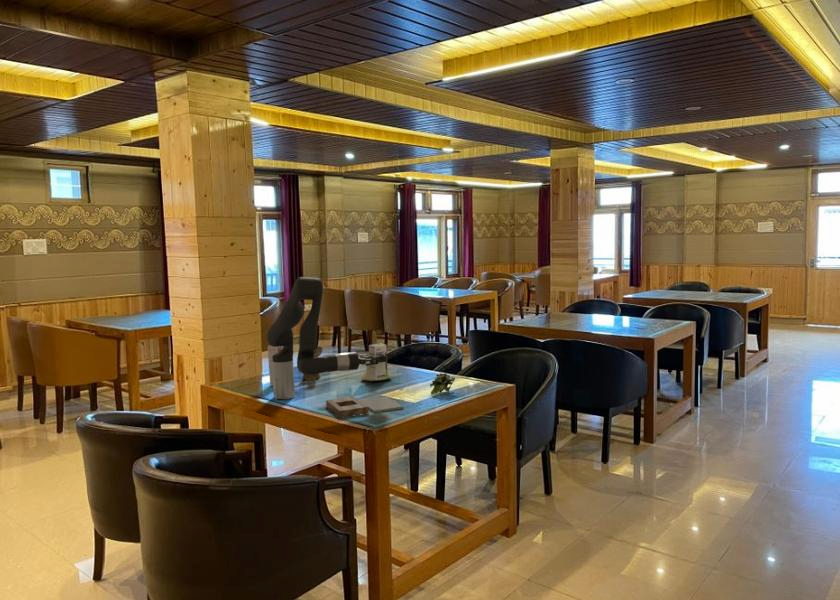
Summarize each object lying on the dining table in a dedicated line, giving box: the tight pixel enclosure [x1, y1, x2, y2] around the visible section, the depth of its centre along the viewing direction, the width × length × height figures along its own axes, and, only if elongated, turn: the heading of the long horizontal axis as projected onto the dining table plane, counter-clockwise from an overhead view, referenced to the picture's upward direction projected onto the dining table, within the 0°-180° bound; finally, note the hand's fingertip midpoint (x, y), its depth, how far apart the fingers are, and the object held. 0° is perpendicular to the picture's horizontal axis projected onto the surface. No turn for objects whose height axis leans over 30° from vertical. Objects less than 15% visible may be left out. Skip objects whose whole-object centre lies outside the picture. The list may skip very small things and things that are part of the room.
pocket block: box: [325, 396, 369, 419], centre depth 268 cm, size 12×20×3 cm, turn 24°
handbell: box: [360, 331, 392, 382], centre depth 323 cm, size 15×15×25 cm
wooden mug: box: [302, 346, 324, 381], centre depth 330 cm, size 9×14×18 cm, turn 43°
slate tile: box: [358, 396, 404, 413], centre depth 274 cm, size 13×20×1 cm, turn 24°
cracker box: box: [266, 345, 283, 386], centre depth 322 cm, size 14×6×21 cm, turn 174°
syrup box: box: [368, 343, 389, 381], centre depth 272 cm, size 6×6×14 cm
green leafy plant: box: [429, 372, 456, 396], centre depth 290 cm, size 11×11×12 cm
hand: (383, 357), depth 273 cm, fingers closed on syrup box, 6 cm apart
